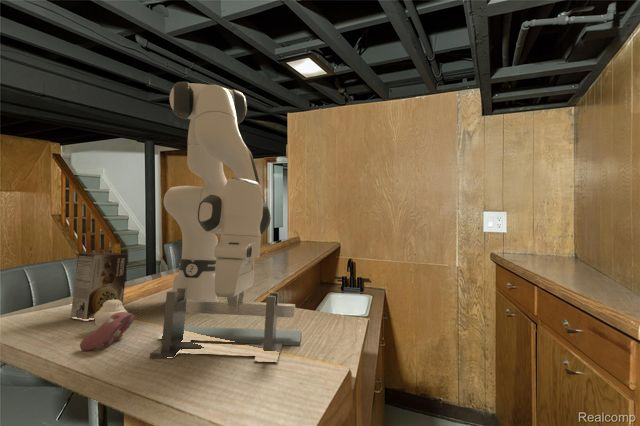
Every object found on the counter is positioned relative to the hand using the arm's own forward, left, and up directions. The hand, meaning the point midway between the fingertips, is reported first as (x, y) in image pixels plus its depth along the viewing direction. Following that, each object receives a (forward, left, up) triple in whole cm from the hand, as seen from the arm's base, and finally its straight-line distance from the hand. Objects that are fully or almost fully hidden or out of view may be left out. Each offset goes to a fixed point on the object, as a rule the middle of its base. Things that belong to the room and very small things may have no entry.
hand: (235, 312), depth 68 cm
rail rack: (+10, 0, -5) cm, 11 cm away
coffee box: (-12, -38, -6) cm, 40 cm away
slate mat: (0, 0, -5) cm, 5 cm away
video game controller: (+7, -22, -6) cm, 24 cm away
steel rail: (0, 0, 0) cm, 0 cm away
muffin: (0, -27, -6) cm, 27 cm away
